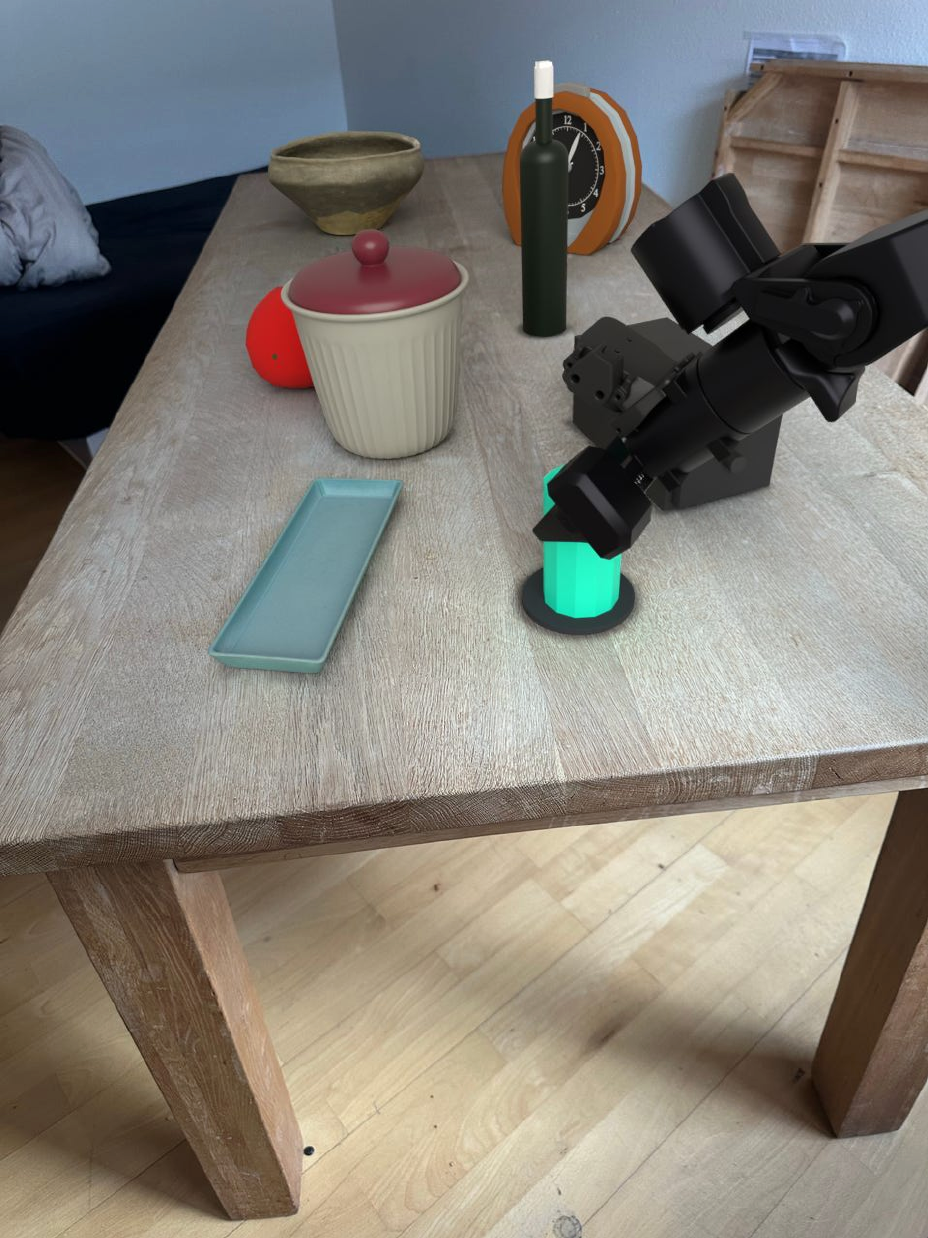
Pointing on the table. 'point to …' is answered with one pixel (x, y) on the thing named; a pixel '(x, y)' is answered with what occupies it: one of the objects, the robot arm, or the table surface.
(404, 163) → the bowl
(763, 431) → the drawer
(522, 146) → the alarm clock
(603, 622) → the coaster
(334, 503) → the rectangular tray
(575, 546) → the candle
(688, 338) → the cabinet
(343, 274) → the canister
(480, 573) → the table surface
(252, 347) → the tomato
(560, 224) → the wine bottle
